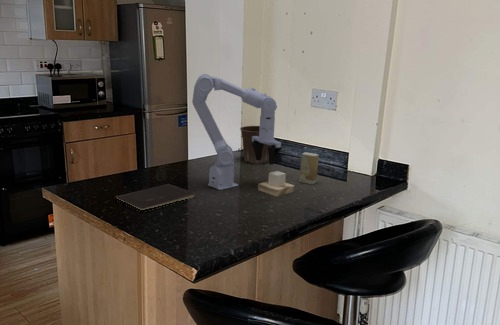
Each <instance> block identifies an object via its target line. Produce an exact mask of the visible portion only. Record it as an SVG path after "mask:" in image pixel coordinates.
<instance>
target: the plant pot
mask: <svg viewBox="0 0 500 325" xmlns="http://www.w3.org/2000/svg"><path fill="white" fill-rule="evenodd" d="M239 129H240V131H241V134H240V135H241V138H242V139H241V140H242V150H243V151H242V152H243V161H244V162H245V163H250V164H255V165H260V164H265V163H269V152H268V148H267V147H271V145H267V144H264V146H263V150H262V158H261V160H256V157H255V152H254V149H253V147H252V145H251V143H253V142H254V141H252V136H259V129H260V125H246V126H241V127H240V128H239Z"/></svg>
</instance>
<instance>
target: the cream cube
mask: <svg viewBox="0 0 500 325" xmlns="http://www.w3.org/2000/svg"><path fill="white" fill-rule="evenodd" d="M286 178H287V173H284V172H282V171H279V170H275V171H271V172H268V181H267V182H268V184H269V185H272V186H275V187H279V186H283V185H285V182H286Z"/></svg>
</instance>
